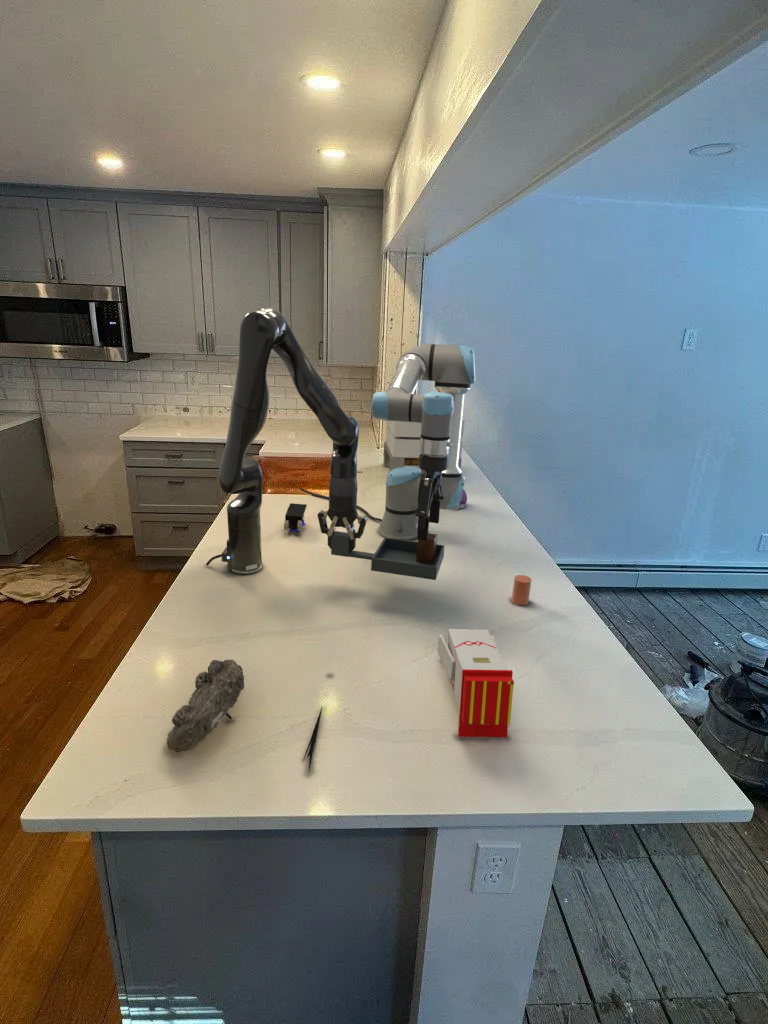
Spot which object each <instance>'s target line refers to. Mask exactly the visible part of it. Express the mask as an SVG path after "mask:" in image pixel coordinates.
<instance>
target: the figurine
mask: <svg viewBox="0 0 768 1024" xmlns="http://www.w3.org/2000/svg"><path fill="white" fill-rule="evenodd" d="M461 471H462V472H463V470H462V469H461ZM467 495H468V494H467V492H466V491H465V489H464V488H463V492H462V496H461V500H460V504H459V507H458V508H457V509H456V510H460V509H464V508H465V507H466V506H467V502H468V496H467Z"/></svg>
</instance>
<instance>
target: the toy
mask: <svg viewBox="0 0 768 1024" xmlns="http://www.w3.org/2000/svg"><path fill="white" fill-rule="evenodd" d="M446 640H447V643H446V641H445V639H444V636H443V635H442V634H439V637H438V646H437V656H438V657H439V659H440V661H441V663H442V666H443V668H444V670H445V672H446V674H447V677H448V679H449V681H450V684H451V687H452V690H453V693H454V697H455V701H456V705H457V708H458V711H459V714H458V715H459V716H458V730H457V731H458V732H457V737H458V738H508V731H509V726H510V725H511V717H512V707H513V697H514V696H513V695H514V684H515V680H514V679H513V673H514V671H513V670H512V669H508V667H507V665H506V662H505V661H504V659H503V658H502V655H501V653H500V651H499V649H498V647H497V643H496V639H495V637H494V635H493V634H491V632H490V631H489V629H467V628H466V629H465V628H463V629H461V628H460V629H459V628H448V630H447V639H446Z"/></svg>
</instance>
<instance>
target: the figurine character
mask: <svg viewBox="0 0 768 1024" xmlns="http://www.w3.org/2000/svg"><path fill="white" fill-rule="evenodd" d="M307 506H308V505H307V504H306V503H294V502H293V503H292V502H291V503H289V505H288V508H287V510H286V512H285V515H284V524H283V530H284V531H288V532H287V534H288V535H289V536H290V535H291V533H292V532H296V535H297V536H298V535H300V531H302V530H303V527H304V526H305V525H306V522H305V512H306V510H307Z"/></svg>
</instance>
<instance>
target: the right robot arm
mask: <svg viewBox="0 0 768 1024" xmlns="http://www.w3.org/2000/svg"><path fill="white" fill-rule="evenodd" d="M475 363H476V362H475V351H474V349H473V347H471V346H467V345H460V344H459V345H457V344H440V343H439V344H438V343H437V344H436V343H435V344H434V343H423V344H419V345H417V346H416V345H415V346H413V347H411V348H410V349H408V350H407V351H405V352H404V353H402V354H401V356H400V357H399V358H398V360H397V362H396V365H395V373H394V374H393V377H392V378H391V381H390V383H389V385H388V387H387V389H386V391H385V390H383V391H376V392H374V393H373V396H372V400H371V415H372V417H373V418H374V419H375V420H380V421H385V422H386V421H402V422H415V423H422V425H421V436H420V449H419V451H420V453H421V454H420V455H419V466H418V467H417V466H404V467H400V468H396V469H393V470H391V471H390V470H389V472H388V473H387V475H386V482H385V504H384V505H385V507H384V508H385V509H384V513H383V515H382V518H378V517H375V516H373V515H371V514H370V513H369V512H368V511H367V510H366V509H365V508H363V507H361V506H360V505H357V508H356V509H358V510H360V511H362V512H363V513H364V514H365V516H366V517H367V518H369V519H371V520H373V521H378V522H379V527H378V533H379V534H380V535H381V536H382V537H384V538H385V537H387V538H394V539H401V540H409V541H412V540H415V539H416V541H418V540H424V541H427V540H428V533H429V530H430V529H429V528H430V523H432V524H439V523H440V514H441V510H444V511H446V510H449V511H456V510H458V509H457V508H458V507H459V504H460V500H461V496H462V492H463V489H464V486H465V483H466V477H465V476H463V470H462V469H461V470H462V471H461V470H460V468H459V467H458V460H459V449H460V439H461V440H462V438H461V428H462V419H463V418H464V417H463V416H464V408H465V407H464V406H465V405H464V404H465V396H466V394H467V393H468V391H470V390H471V385H474V384H475V383H476V364H475ZM421 381H428V382H429V381H430V382H434V389H435V390H436V391H430V392H426V393H424V394H417V393H415V392H416V389H417V386H418V384H419V382H421ZM422 471H424V472H425V473H424V472H422ZM299 491H301V492H304V494H308V495H311V496H314V497H318V498H322V499H327V500H329V496H326V495H323V494H318V493H315V492H312V491H309V490H306V489H304V488H302V487H300V488H299Z"/></svg>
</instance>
